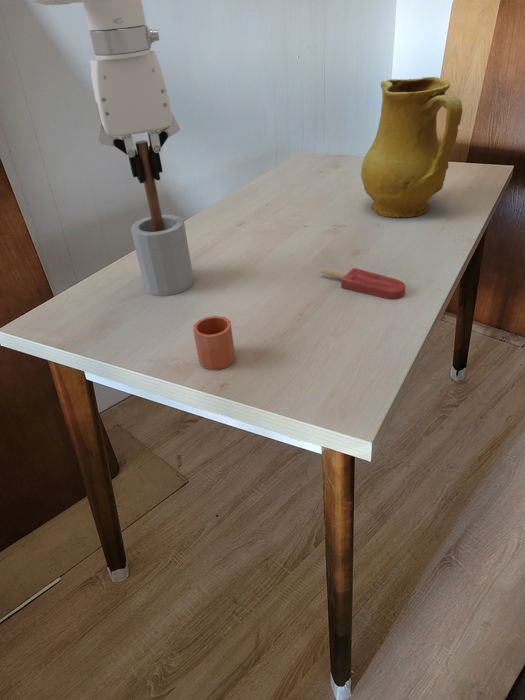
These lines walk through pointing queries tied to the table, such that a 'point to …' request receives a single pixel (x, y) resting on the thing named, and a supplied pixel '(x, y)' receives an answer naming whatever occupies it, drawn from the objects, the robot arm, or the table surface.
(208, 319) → the pen cup
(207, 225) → the table surface
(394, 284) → the popsicle
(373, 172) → the pitcher
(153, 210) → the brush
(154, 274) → the grey hollow cylinder
